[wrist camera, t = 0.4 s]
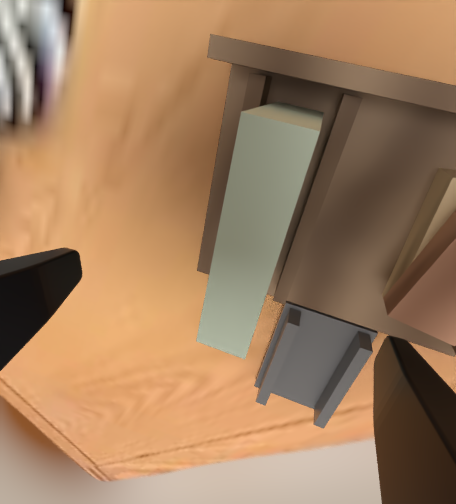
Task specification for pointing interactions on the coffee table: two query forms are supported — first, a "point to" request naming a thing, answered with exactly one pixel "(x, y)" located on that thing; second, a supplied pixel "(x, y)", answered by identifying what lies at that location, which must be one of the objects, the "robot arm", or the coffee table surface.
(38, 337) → the coffee table surface
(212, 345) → the panel
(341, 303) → the rack
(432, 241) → the offcut
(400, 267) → the offcut
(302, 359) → the stand
